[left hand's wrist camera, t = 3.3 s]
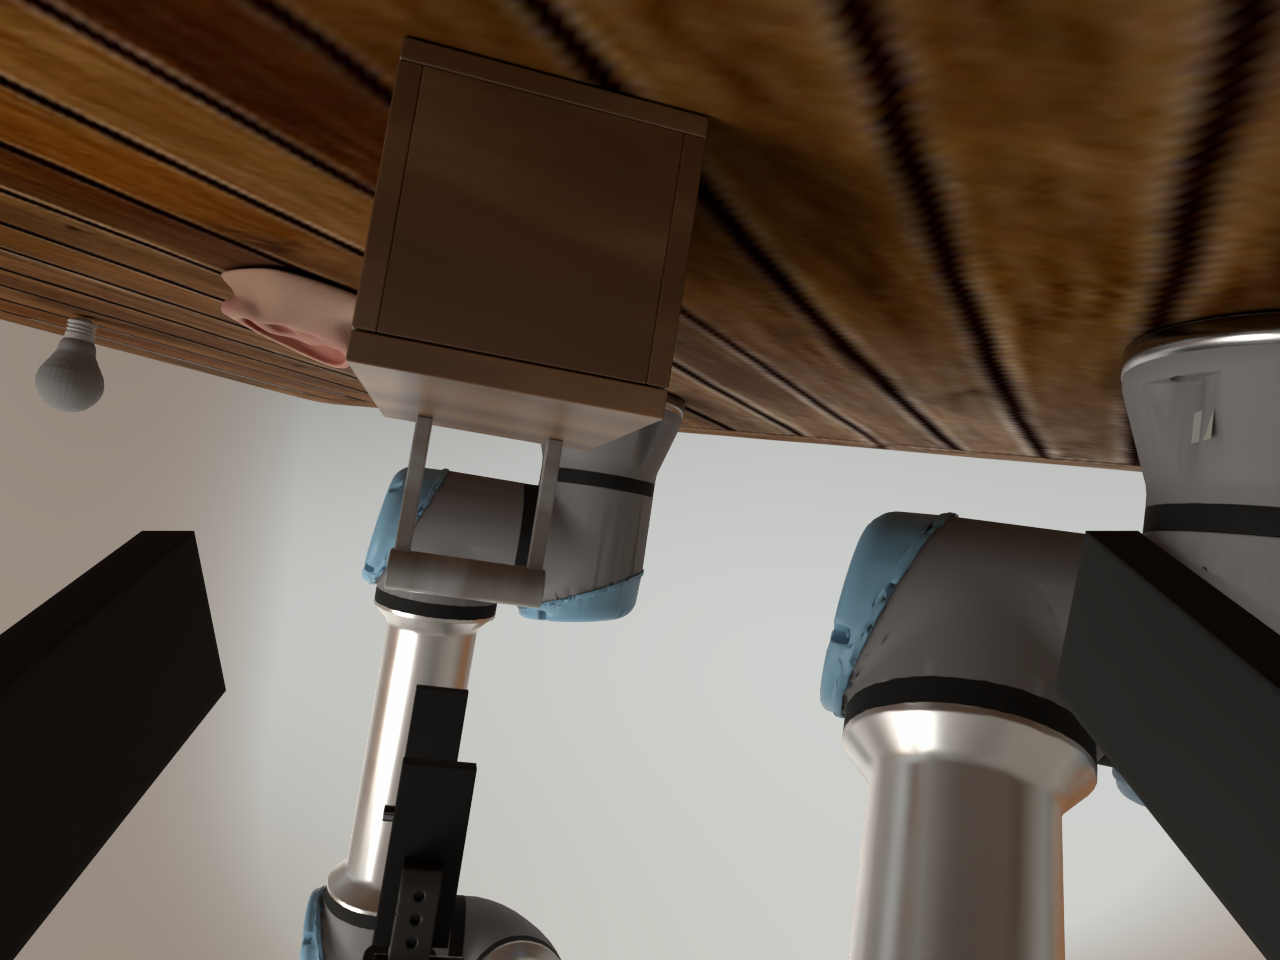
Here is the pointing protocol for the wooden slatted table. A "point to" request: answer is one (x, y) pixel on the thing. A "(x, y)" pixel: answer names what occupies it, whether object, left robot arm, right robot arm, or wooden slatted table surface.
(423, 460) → the lid
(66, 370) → the light bulb
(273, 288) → the anatomical model
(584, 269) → the chest
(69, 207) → the wooden slatted table surface
